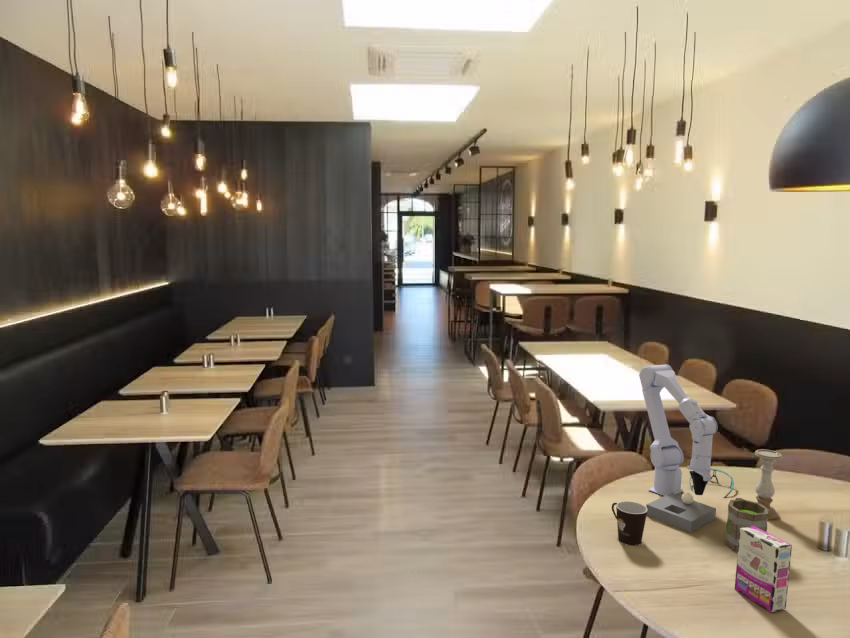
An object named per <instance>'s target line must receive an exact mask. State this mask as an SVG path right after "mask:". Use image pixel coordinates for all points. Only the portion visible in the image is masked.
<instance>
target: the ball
mask: <svg viewBox="0 0 850 638" xmlns="http://www.w3.org/2000/svg"><path fill="white" fill-rule="evenodd" d="M681 496H682V497H681V499H682V501H683V502H684V503H685V504H690V503H692V502H693V500H694V496H693V494H691V493H690V492H684V493H682V495H681Z"/></svg>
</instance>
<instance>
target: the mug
mask: <svg viewBox="0 0 850 638" xmlns="http://www.w3.org/2000/svg"><path fill="white" fill-rule="evenodd" d="M727 506H728V507H727V509H728V511H727V521H726V526H725V527H726V536H725V542H724V546H725V547H727V548H728V549H730V550H731V551H732V552H733V553H737V554H738V544H739V532H740V528H743V527H748V526H755V527H757V528H759V529H761V530H763V531H765V532H767V533H768V520H767V517H768V512H769V509H768V508H767V507H765V506H763V505H762V504H760V503H758V501H757V502H756V501H754V500H747V499H743V498H742V497H736V498H735V499H730V500H729V502H728V504H727Z"/></svg>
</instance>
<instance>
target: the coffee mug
mask: <svg viewBox="0 0 850 638" xmlns="http://www.w3.org/2000/svg"><path fill="white" fill-rule="evenodd" d="M615 507H616V510H615ZM611 511H612V514H613V516H614V518H615V519H616V523H617V538H618V539H617V540H618V541H619V543H622V544H623V545H626V544H627V546H639V545H641V544H642V540H643V535H644V531H645V525H646V521H647V520H646V519H647V517H648V516H647V511H648V509H647V507H646V505H645V504H642V503H639V502H636V501H631V500H630V501H629V500H627V501H626V500H623V501H619V502H613V503H612V505H611Z"/></svg>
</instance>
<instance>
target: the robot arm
mask: <svg viewBox="0 0 850 638" xmlns="http://www.w3.org/2000/svg"><path fill="white" fill-rule="evenodd" d="M638 376H639V380H640V381H639V382H640V384H641V388H642V395H643V398H644V402H645V406H646V412H647V414H648V420H649V423H650V427H651V430H652V435H653V439H654V441H653V442H652V444H651V445H650V446H649V450H650V460H651V463H652V464H653V465H652V466H654V475H653V476H654V478H653V486H651V487H649V488H648V491H650V492H652V493H656V494H658V495H662V497H664V496H666V495H668V494H670V493H674V494H676V495H679V494H680V493H682V492H684V489H683V488H682V474H683V473H682V472H683V471H682V469H681V468H680V465H681V464H682V463H684V452H683V451H682V449H681V448H680V445H679V443H678V441H677V440H675V439H674V438H673V437H672V436H671V432H670V428H669V424H668V420H667V417H666V412H665V408H664V405H663V402H662V401H663V400H662V397H661V394H660V393H661V391H662V389H664V388H665V389H666V390H667V392H669V394H670V395H671V396H672V397H673V398H674V399H675V401H676V402H677V403H678V409H679V410H678V411H680V413H681V414H682V415H683V416H684V418H685V420H687V422H688V423H689V425H688V426H689V427H688V428H689V430H690V433H691V439H692V447H691V459H690V464H689V465H686V466H687V467H686V468H687V469H688V470H689V475H690V477H692V478H691V481H692V484H693V486H692V487H693V492H694V494H695V496H703V495H704V492H705V489H706V487H707V484H708V483H709V482H711V481H712V479H711V477H712V475H711V472H712V470H711V468H712V467H711V464H712V462H711V461H712V450H713V449H712V448H713V438H714V434H716V433H717V432H718V429H719V428H718V422H717V420H716V419H715V417H714V416H712V415H711V416H710V415H708V414H706V413H705V412H704V410H703V409H702V408H701V407H700V406H699V404H698V401H697V400H695V399H694V398H691V397H689V396H687V394H686V392H685V391H684V389H683V387H682V386H681V385H680V383H679V381H678V380H677V379H676V372H675V371H674V370H673V368H672V366H671V365H669V364H667V363H663V364H658V365H656V364H655V365H644V366H643V367H642V368H641V370H640V372H639V374H638Z"/></svg>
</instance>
